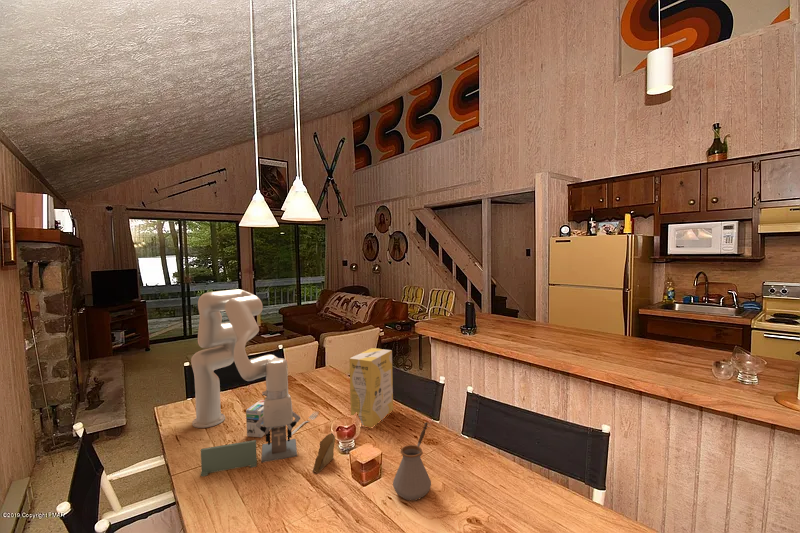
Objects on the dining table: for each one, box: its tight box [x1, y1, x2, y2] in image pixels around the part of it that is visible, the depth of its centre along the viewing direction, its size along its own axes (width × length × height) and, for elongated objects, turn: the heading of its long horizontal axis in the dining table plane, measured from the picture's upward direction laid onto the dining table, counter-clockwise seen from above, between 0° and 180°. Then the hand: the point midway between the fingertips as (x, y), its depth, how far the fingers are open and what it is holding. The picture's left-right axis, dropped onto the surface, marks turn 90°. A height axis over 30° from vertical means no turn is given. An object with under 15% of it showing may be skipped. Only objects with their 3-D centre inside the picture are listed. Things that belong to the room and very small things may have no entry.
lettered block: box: [270, 425, 287, 454], centre depth 137 cm, size 6×5×8 cm
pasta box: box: [348, 347, 394, 427], centre depth 163 cm, size 18×10×28 cm, turn 153°
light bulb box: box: [245, 399, 272, 438], centre depth 153 cm, size 11×7×11 cm, turn 169°
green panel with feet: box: [200, 439, 258, 477], centre depth 127 cm, size 4×17×8 cm, turn 108°
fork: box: [286, 411, 320, 438], centre depth 157 cm, size 3×24×2 cm, turn 161°
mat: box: [260, 438, 298, 463], centre depth 138 cm, size 12×12×1 cm
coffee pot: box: [392, 421, 432, 501], centre depth 117 cm, size 21×12×15 cm, turn 158°
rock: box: [312, 432, 336, 473], centre depth 129 cm, size 11×9×10 cm
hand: (279, 440), depth 138 cm, fingers open, 6 cm apart
